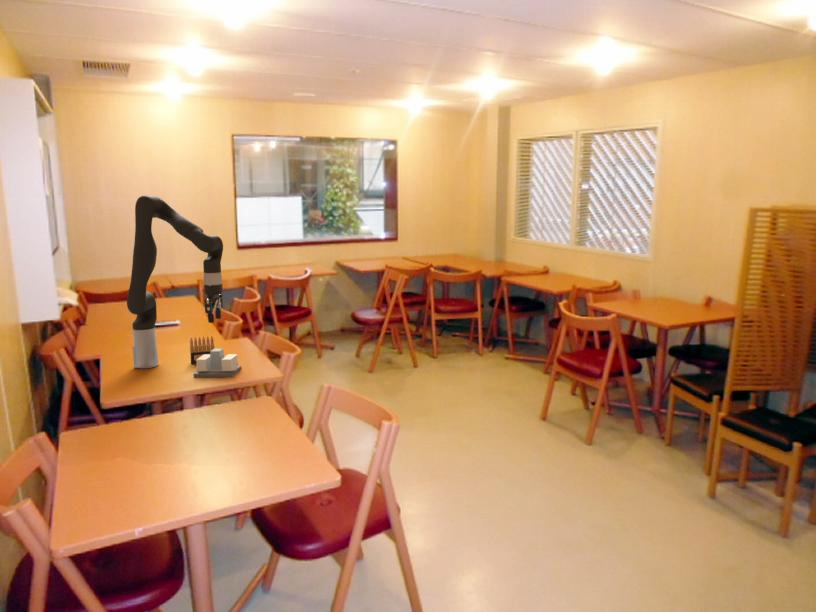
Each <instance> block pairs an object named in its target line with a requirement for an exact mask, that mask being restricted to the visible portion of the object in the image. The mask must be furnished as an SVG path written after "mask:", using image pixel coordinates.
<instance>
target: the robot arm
mask: <svg viewBox="0 0 816 612" xmlns="http://www.w3.org/2000/svg"><path fill="white" fill-rule="evenodd" d="M134 209H135V210H134V215H135V216H134V223H135V228H134V229H135V230H134V241H133V242H134V244H133V251H132V252H133V253H132V266H131V276H130V284H129V288H128V294H127V298H126V306H127V309H128V311H129V313H131V314H133V315H136V317H135V320H134V321H133V322H132V333H133V334H132V335H133V336H132V337H133V346H132V356H133V358H132V359H133V368H136V369H149V368H150V369H151V368H152V369H153V368H155V367H158V366H159V365H160V364H159V354H158V342H157V330H156V323H157V319H158V318H157V317H158V316H157V312H158V310H157V301H156V297H155V296H154V294H153V293H152V292H150V291H147V286H148V282H149V279H150V278H151V276H152V273H153V271H155V268H156V262H157V256H158V255H157V253H158V248H157V244H156V241H155V238H154V235H153V231H152V230H153V229H152V225H153V219H154V218H155V219H156V218H157V219H160V220H162V221H165V222H166V223H167V224H169V225H170V226H171V227H172V228H173V230H175V232H176V233H177V234H179V235H180V236H182V237H184V238H185V239H186V240H188V241H189V242H191V243H192V244H193V245H194V246H195V247H196V248H197V249H198V250H200V252H204V253H206V254H207V257H206V258H205V259H204V260H203V266H202V268H203V293H204V295H206V296H208V297H207V298H205V299H204V313H205V314H207V322H208V324H209V323H210V324H214V322H215V319H216V320H221V319H222V309H223V308H224V301H223V293H224V290H223V278H222V277H223V275H222V265H221V263H222V258H223V252H224V243H223V240H222V238H221V237H220V236H218V235H214V234H213V235H208V234H205V232H204V230H203V229H202V228H201V227H200V226H199V225H197V224H196V223H194V222H192V221H190V220H189V219H187V218H186V217H184V216H183V215H181V214H180V213H179V212H177V211H176V210H175V209H174V208H172V207H171V206H170V205H169V204H168V203H167V202H165V201H164V200H163V199H162V198H160V197H159V196H156V195H142V196H139V197H138V198H137V199H136V201H135V208H134ZM214 313H215V314H214ZM214 315H215V316H214Z"/></svg>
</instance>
